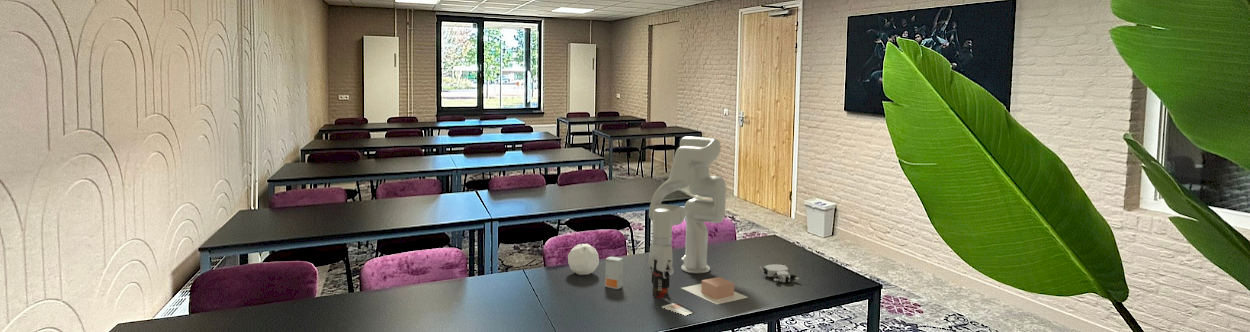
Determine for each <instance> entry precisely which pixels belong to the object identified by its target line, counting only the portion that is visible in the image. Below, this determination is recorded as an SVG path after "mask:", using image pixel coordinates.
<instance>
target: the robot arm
mask: <svg viewBox="0 0 1250 332" xmlns="http://www.w3.org/2000/svg"><path fill="white" fill-rule="evenodd" d="M721 146H722V145H721V142H720V141H719V140H718V138H714V137H704V136H703V137H702V136H691V135H690V136H683V137H682V138H681V139H680V141H679V147H677V148H676V150H675V152H674V153H675V154H674V156H673V157H674V158H673V161H672V165H671V168H670V172H669V176H668V179H666V181H664V182H663V183H662V184H660V185H659V187H658V188H657V189H655V192H654V193H653V195H652V197H651V202H650V204H649V208H648V209H649V210H648V217H649V219H650V221H652V229H651V230H652V233H651V234H652V235H651V236H652V237H651V243H650V246H649V252H648V253H649V254H648V266H649V268H650V272H651V284H653V268H654V259H655V260H657V264H656V269H657V270H658V271H661V272H662V274H663V278H662V288H668V289H669V288H670V279H671V277H672V275H673V274H674V273H675V270H674V267H673V261H674V260H673V246H672V239H673V238H672V237H673V226H678V225H681V224H682V223H683V222H684V221H685V252H684V256H683V257H681V259H680V260H681V261H682V262H683V264H682V265H681V267H680V268H681V270H682V271H683V272H685V273H690V274H705V273H709V272H710V271H711V267H710V266H709V265H708V264H707V263H708V262H707V261H708V259H707V258H708V243H709V241H708V239H709V238H708V237H709V230H708V227H707V225H706V223H713V224H720V223H722V222H723V221H724V220H725V215H726V199H727V198H726V196H727V195H726V194H727V192H726V190H727V186H726V181H725V179H724V178H723V177H722V176H719V175H710V172H709V171H710V170H709V169H710V168H709V167H710V166H711V165H712V164H713V163H714V161H715V160H717V158H718V157H719V155H720V153H721ZM687 187H688V191H689V193H690V195H692V196H695V197H701V198H691V199H688V200H687V201H686V202H685V204H684V208H683V207H681V206H679V205H673V204H668V203H667V204H665V203H662V201H663V199H664V198H665V197H666V196H667V195H670V194H672V193H674V192H676V191H680V190H682V189H683V190H684V189H686V188H687ZM702 197H703V198H710V199H703V198H702ZM711 199H712V200H711ZM666 268H667V270H666ZM665 272H667V274H665Z"/></svg>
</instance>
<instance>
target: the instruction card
mask: <svg viewBox="0 0 1250 332" xmlns="http://www.w3.org/2000/svg"><path fill="white" fill-rule="evenodd" d="M661 307H662V309H664V308H665V309H664V310H667V311H669V310H671V311H670V312H672V311H673V313H675V312H676V313H675V314H677V313H679V314H678V315H680V314H682V315H681V316H683V315H684V316H683V317H687V315H688V316H690V315H689V314H691V315H693V314H696V313H695V312H696V311H694V310H693V309H689V308H688V307H686V306H684V305H682V304H680V303H678V302H676V301H675V302H672V303H669V304H665V305H662V306H661ZM692 313H693V314H692Z"/></svg>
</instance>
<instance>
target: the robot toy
mask: <svg viewBox="0 0 1250 332" xmlns="http://www.w3.org/2000/svg"><path fill="white" fill-rule="evenodd" d="M759 268H760V270H761V271H762V273H763V274H764V275H765V276H767V277H768V278H773V281H774V282H779V283H789V282H790V281H791V280H792V281H799V280H800V277H798V276H797V275H796V274H792V273H791V274H790V269H789V267H788V266H787V265H786V264H784V265H783V264H768V265H767V264H766V265H765V266H763V268H762V266H759Z"/></svg>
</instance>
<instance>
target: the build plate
mask: <svg viewBox="0 0 1250 332" xmlns="http://www.w3.org/2000/svg"><path fill="white" fill-rule="evenodd" d="M701 284H702V283H698V284H693V285H689V286H685V287H684V286H683V287H681V289H682V290H684V291H686V292H689V293H690V294H693V295H695V296H697V297H700V298H702V299H704V300H706V301H708V302H710V303H713V304H715V305H721V304H727V303H730V302H735V301H738V300H744V299H747V298H748V299H749V297H748V296H747V295H745V294H741V293H740V292H737V291H735V290H734V295H733V296H729V297H724V298H720V299H714V298H712V297H710V296H708V295H705V294H703V293H701Z"/></svg>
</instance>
